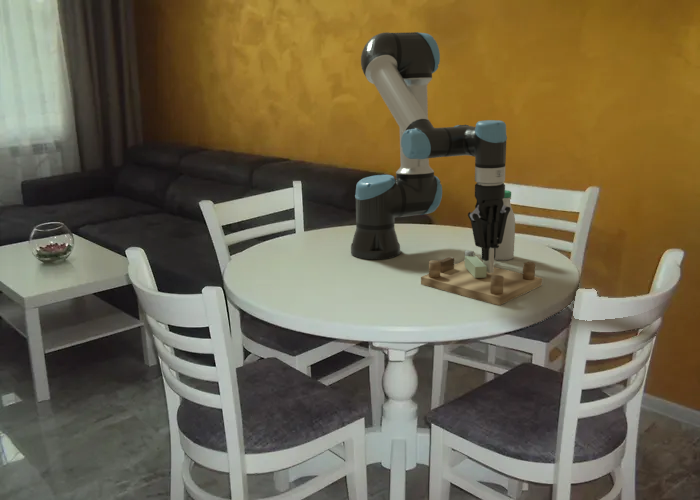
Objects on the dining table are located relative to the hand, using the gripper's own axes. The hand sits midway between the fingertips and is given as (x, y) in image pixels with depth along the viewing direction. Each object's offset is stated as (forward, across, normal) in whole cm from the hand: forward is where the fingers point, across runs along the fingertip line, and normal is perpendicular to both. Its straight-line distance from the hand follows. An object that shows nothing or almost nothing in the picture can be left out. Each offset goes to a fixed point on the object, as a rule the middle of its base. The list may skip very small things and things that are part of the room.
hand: (488, 271), depth 177 cm
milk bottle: (+4, +19, +15) cm, 25 cm away
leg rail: (+1, -1, +5) cm, 5 cm away
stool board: (+3, -3, 0) cm, 4 cm away
